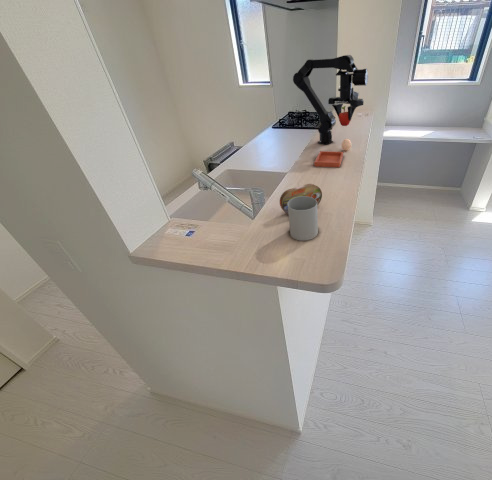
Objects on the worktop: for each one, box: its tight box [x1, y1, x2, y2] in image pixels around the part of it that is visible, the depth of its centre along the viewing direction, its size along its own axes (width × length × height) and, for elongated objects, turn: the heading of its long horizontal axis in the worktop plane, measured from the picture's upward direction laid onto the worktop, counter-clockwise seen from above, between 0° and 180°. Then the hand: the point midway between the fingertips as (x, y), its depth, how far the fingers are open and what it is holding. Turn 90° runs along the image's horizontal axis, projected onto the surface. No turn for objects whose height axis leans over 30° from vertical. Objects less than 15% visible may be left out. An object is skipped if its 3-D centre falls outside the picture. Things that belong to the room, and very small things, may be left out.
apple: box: [338, 105, 352, 127], centre depth 140 cm, size 8×7×10 cm
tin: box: [279, 183, 323, 215], centre depth 89 cm, size 15×3×8 cm, turn 117°
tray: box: [313, 150, 344, 168], centre depth 128 cm, size 15×12×2 cm
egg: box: [341, 138, 352, 152], centre depth 138 cm, size 5×5×6 cm
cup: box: [287, 196, 319, 242], centre depth 78 cm, size 8×8×10 cm
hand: (344, 119), depth 141 cm, fingers closed on apple, 6 cm apart
